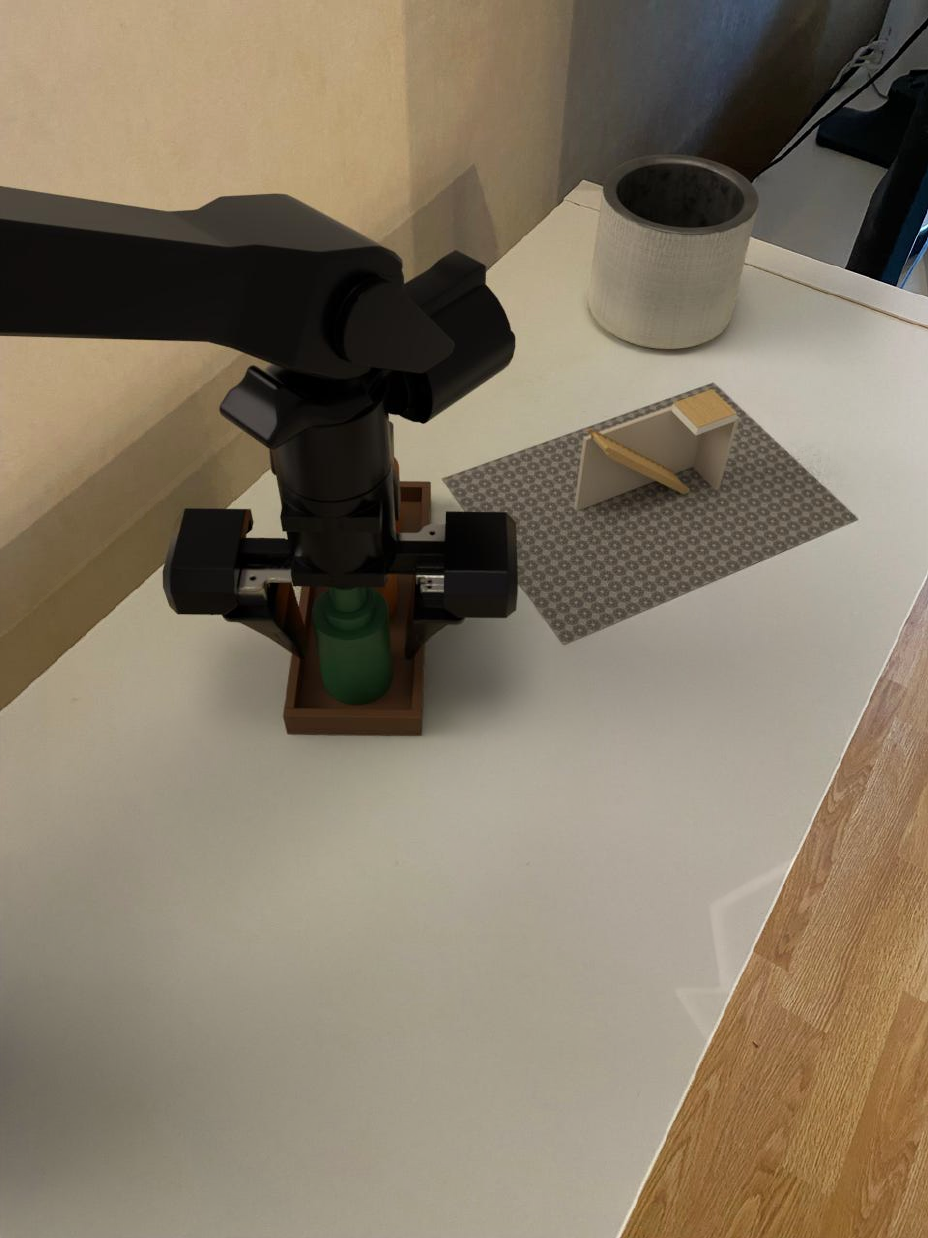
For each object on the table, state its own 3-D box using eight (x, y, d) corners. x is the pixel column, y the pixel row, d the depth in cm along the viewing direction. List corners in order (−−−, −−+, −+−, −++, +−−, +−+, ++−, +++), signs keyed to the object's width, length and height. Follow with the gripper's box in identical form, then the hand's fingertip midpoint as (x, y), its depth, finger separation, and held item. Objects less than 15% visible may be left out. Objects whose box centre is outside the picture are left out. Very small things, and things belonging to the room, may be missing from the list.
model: (719, 488, 75) (742, 407, 69) (597, 536, 72) (611, 455, 66) (693, 462, 77) (714, 380, 71) (573, 508, 74) (584, 426, 68)
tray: (422, 736, 62) (421, 717, 60) (287, 734, 62) (282, 716, 60) (431, 501, 74) (430, 481, 73) (319, 499, 74) (316, 479, 73)
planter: (567, 334, 87) (580, 212, 78) (611, 259, 94) (627, 140, 86) (710, 370, 84) (740, 248, 76) (744, 290, 92) (775, 170, 83)
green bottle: (339, 716, 62) (324, 618, 54) (311, 664, 64) (294, 563, 57) (404, 688, 63) (398, 589, 56) (375, 639, 66) (365, 537, 58)
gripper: (518, 362, 55) (506, 557, 67) (173, 357, 55) (223, 553, 67) (525, 508, 48) (510, 696, 60) (129, 503, 48) (194, 692, 60)
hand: (356, 652), depth 62 cm, fingers open, 6 cm apart
